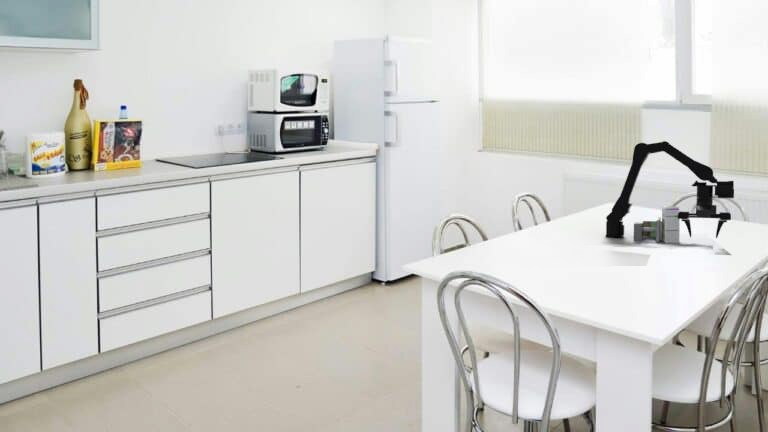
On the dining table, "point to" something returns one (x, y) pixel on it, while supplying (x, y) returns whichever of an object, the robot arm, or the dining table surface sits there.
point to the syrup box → (670, 224)
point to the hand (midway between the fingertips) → (703, 237)
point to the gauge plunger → (655, 229)
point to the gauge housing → (640, 234)
